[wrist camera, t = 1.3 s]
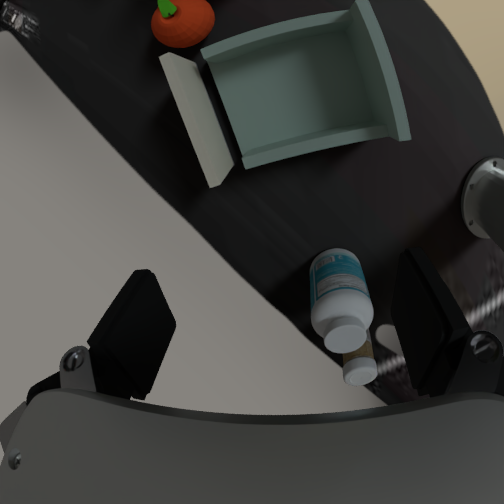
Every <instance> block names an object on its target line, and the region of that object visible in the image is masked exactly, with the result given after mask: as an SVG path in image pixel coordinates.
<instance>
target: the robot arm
mask: <svg viewBox="0 0 504 504" xmlns="http://www.w3.org/2000/svg"><path fill="white" fill-rule="evenodd" d="M461 213H462V217H463V220H464V223H465V225H466V226H467V228H468V229H469V230H470V231H471V232H472V233H473V234H474V235H476V236H477V237H480V238H491V239H492V240H493V241H494V242H495V243H496V244H497V245H498V246H499V247H500V248H501V249H502V251H503V252H504V159H502V158H499V157H488V158H485V159H483V160H481V161H480V162H478V163H477V164H476V165H475V166H474V168H473V169H472V170H471V172H470V173H469V175H468V177H467V179H466V181H465V184H464V187H463V191H462V196H461ZM391 316H392V320H393V323H394V326H395V329H396V331H397V335H398V338H399V341H400V344H401V348H402V351H403V354H404V358H405V361H406V365H407V368H408V372H409V376H410V380H411V384H412V387H413V389H417V391H418V395H419V396H422V395H426V394H429V395H430V398H426V399H421V400H416V401H411V402H406V403H401V404H395V405H389V406H383V407H376V408H370V409H362V410H355V411H346V412H335V413H323V414H305V415H244V414H226V413H213V412H203V411H194V410H186V409H178V408H172V407H165V406H159V405H153V404H148V403H142V402H137V401H133V400H130V398H131V396H132V397H133V398H135V399H139V400H145V397H146V395H147V394H148V393H150V391H151V389H152V386H153V384H154V381H155V378H156V376H157V373H158V371H159V368H160V366H161V363H162V360H163V358H164V356H165V353H166V351H167V348H168V346H169V343H170V341H171V338H172V336H173V334H174V331H175V328H176V321H175V319H174V317H173V314H172V312H171V310H170V309H169V306H168V304H167V302H166V299H165V297H164V295H163V292H162V290H161V288H160V286H159V283H158V281H157V279H156V276H155V274H154V273H151V271H150V270H148V269H143V270H135V271H134V272H133V274H132V275H131V276H130V278H129V279H128V280H127V282H126V283H125V285H124V286H123V287H122V289H121V291H120V292H119V293H118V295H117V296H116V298H115V299H114V300H113V302H112V304H111V305H110V307H109V308H108V309H107V311H106V312H105V314H104V316H103V317H102V318H101V320H100V321H99V323H98V325H97V326H96V328H95V329H94V331H93V333H92V334H91V336H90V337H89V339H88V340H87V343H88V344H89V346H90V349H89V350H88V349H87V348H86V347H84V346H77V347H73V348H71V349H70V350H68V351H67V352H66V353H65V354H64V356H63V357H62V359H61V361H60V371H59V372H57V373H55V374H53V375H51V376H49V377H48V378H46V379H44V380H42V381H40V382H39V383H37V384H35V385H34V386H32V387H31V388H30V390H29V392H28V395H27V400H26V402H27V403H26V402H25V401H24V402H23V403H22V404H21V405H20V406H19V407H17V409H15V410H14V411H13V412H12V413H11V414H10V415H9V416H8V417H7V418H6V419H5V420H4V421H3V422H2V423H1V425H0V442H1V445H2V448H3V451H4V453H5V454H4V457H3V460H2V462H1V466H0V504H504V356H503V352H504V349H503V346H502V343H501V341H500V340H499V338H498V337H496V336H495V335H494V334H493V333H491V332H489V331H485V330H478V331H476V332H472V330H471V328H470V326H469V324H468V322H467V320H466V318H465V316H464V315H463V313H462V311H461V309H460V307H459V306H458V304H457V302H456V300H455V299H454V297H453V295H452V294H451V292H450V290H449V289H448V287H447V285H446V284H445V282H444V281H443V280H442V278H441V277H440V275H439V274H438V272H437V271H436V269H435V267H434V266H433V264H432V263H431V261H430V260H429V258H428V257H427V255H426V254H425V253H424V251H423V250H422V248H421V247H415V248H406V249H405V251H404V253H401V254H400V260H399V267H398V273H397V279H396V285H395V291H394V296H393V301H392V306H391Z"/></svg>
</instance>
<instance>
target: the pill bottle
mask: <svg viewBox="0 0 504 504" xmlns="http://www.w3.org/2000/svg"><path fill="white" fill-rule="evenodd" d="M310 295H311V322H312V326H313V328H314V330H315V331H316V332H317V333H318V334H319V335H320V336H321V337H323V338H324V344H325V346H326V348H327V349H328V350H330V351H332V352H335V353H348V352H352V351H355V350H357V349H358V348H360V347H361V346H362V345H363V344H364V343H365V341H366V338H367V334H366V330H367V329H368V327H369V326H370V324H371V322H372V319H373V306H372V303H371V299H370V296H369V292H368V288H367V285H366V282H365V278H364V275H363V272H362V268H361V265H360V262H359V260H358V259H357V257H356V256H355V255H354V254H353V253H351V252H350V251H347V250H345V249H339V248H335V249H329V250H326V251H324V252H322V253H321V254H319V255H318V256H317V257H316V258H315V259H314V261H313V262H312V264H311V267H310Z"/></svg>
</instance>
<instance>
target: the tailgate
mask: <svg viewBox="0 0 504 504" xmlns="http://www.w3.org/2000/svg"><path fill="white" fill-rule="evenodd" d="M159 59H160V62H161V64H162V67H163V69H164V72H165V75H166V77H167V80H168V83H169V85H170V88H171V90H172V93H173V96H174V98H175V101H176V103H177V106H178V109H179V111H180V114H181V116H182V119H183V121H184V124H185V126H186V129H187V132H188V134H189V137H190V139H191V142H192V144H193V147H194V149H195V152H196V154H197V157H198V159H199V162H200V164H201V167H202V169H203V172H204V174H205V177H206V179H207V182H208V184H209V187H210V188H212V187H215V186H218V185H220V184H221V183H222V181H223V180H224V178H225V177H226V175H227V174H228V172H229V171H230V169H231V168H232V167H233V166H234V165H235V164H234V162H233V159H232V156H231V154H230V151H229V148H228V145H227V143H226V140H225V137H224V135H223V132H222V129H221V127H220V124H219V121H218V119H217V116H216V114H215V111H214V108H213V106H212V103H211V100H210V98H209V95H208V93H207V90H206V87H205V85H204V82H203V80H202V77H201V74H200V72H199V69H198V67H197V64H196V62H192V61H190V60H187V59H185V58H183V57H180V56H178V55H175V54H173V53H170V52H168V53H166V54H164V55H162V56H160V57H159Z"/></svg>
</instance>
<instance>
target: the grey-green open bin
mask: <svg viewBox="0 0 504 504" xmlns="http://www.w3.org/2000/svg"><path fill="white" fill-rule="evenodd" d="M200 50H201V52H202V55H203V57H204V59H205V60H207V62H208V65H209V68H210V70H211V73H212V75H213V78H214V80H215V83H216V86H217V88H218V91H219V94H220V96H221V99H222V101H223V104H224V107H225V109H226V112H227V115H228V117H229V120H230V123H231V126H232V128H233V131H234V134H235V136H236V139H237V142H238V145H239V147H240V150H241V153H242V156H243V157H242V161H243V164H244V167H245V169H249V168H252V167H256V166H259V165H263V164H266V163H270V162H274V161H278V160H281V159H285V158H289V157H293V156H297V155H301V154H305V153H309V152H313V151H318V150H322V149H327V148H331V147H336V146H340V145H345V144H350V143H355V142H360V141H365V140H371V139H376V138H382V137H388V136H390V137H392V138H394V139H396V140H398V141H405V140H411V135H410V130H409V125H408V120H407V115H406V111H405V106H404V102H403V98H402V94H401V90H400V86H399V83H398V79H397V76H396V72H395V69H394V66H393V62H392V59H391V56H390V53H389V50H388V47H387V45H386V42H385V39H384V36H383V34H382V31H381V29H380V26H379V24H378V21H377V19H376V17H375V14H374V12H373V10H372V7H371V5H370V3H369V1H368V0H357V1H355V2H354V3H353V5H352V6H351V8H350V10H344V11H337V12H329V13H323V14H317V15H312V16H306V17H301V18H297V19H292V20H288V21H284V22H280V23H276V24H272V25H268V26H265V27H261V28H258V29H255V30H252V31H248V32H245V33H242V34H239V35H236V36H234V37H231V38H228V39H225V40H223V41H220V42H217V43H215V44H212V45H210V46H207V47H205V48H203V49H200Z"/></svg>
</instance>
